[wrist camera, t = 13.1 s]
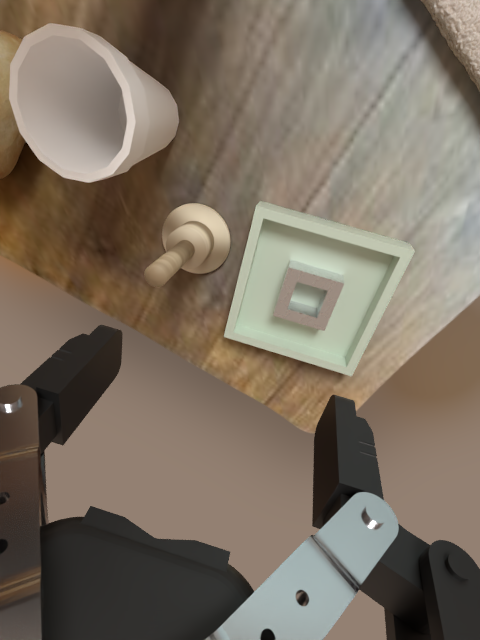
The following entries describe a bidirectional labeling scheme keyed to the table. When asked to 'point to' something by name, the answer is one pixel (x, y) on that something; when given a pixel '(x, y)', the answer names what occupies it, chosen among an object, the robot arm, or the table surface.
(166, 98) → the foam cup
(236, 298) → the tray
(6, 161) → the bread roll
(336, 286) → the ring
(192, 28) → the table surface
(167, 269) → the beige peg stand
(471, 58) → the washcloth
